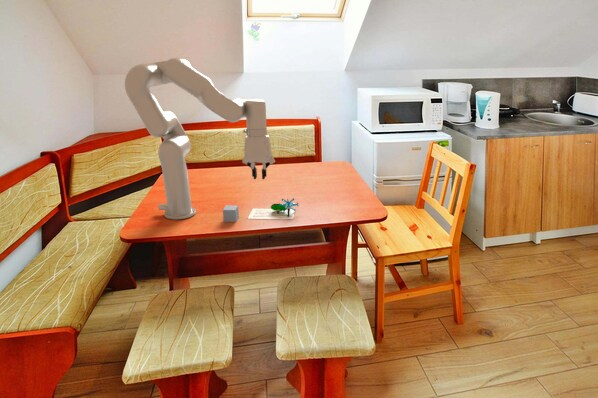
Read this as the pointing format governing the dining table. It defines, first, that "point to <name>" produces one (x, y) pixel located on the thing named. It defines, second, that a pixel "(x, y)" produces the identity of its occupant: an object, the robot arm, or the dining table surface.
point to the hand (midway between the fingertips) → (259, 177)
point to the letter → (270, 214)
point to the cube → (230, 213)
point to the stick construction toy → (283, 206)
